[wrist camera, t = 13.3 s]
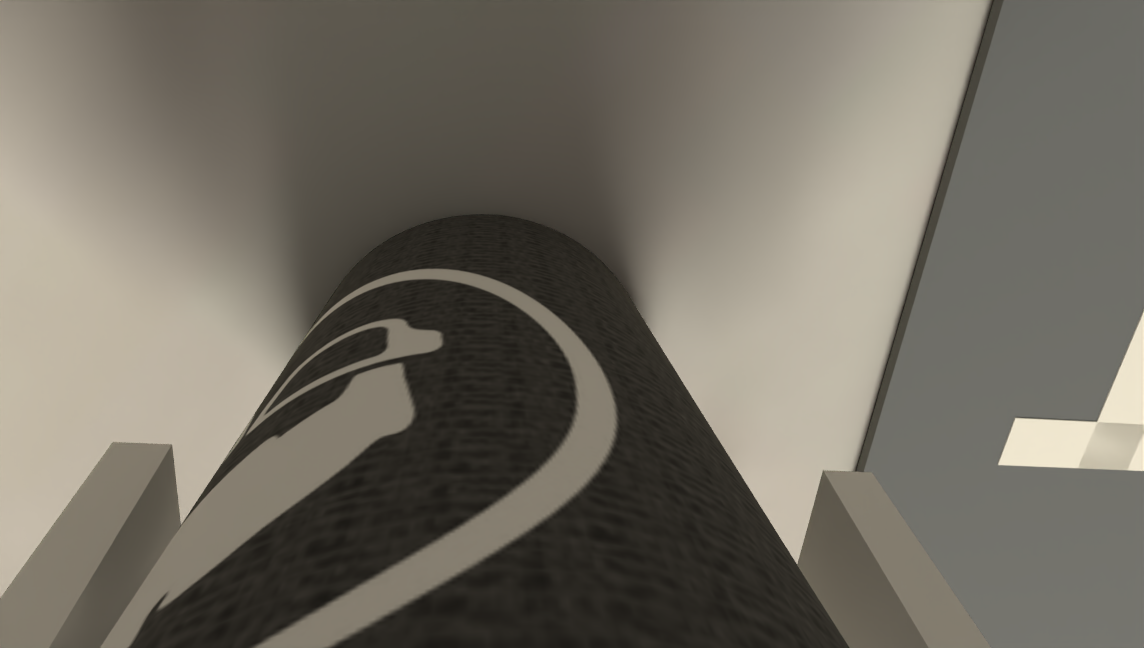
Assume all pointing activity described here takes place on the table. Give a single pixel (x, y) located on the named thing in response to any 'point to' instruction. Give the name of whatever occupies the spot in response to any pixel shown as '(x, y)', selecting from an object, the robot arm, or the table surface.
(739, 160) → the table surface
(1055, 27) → the mat
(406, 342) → the coffee cup
